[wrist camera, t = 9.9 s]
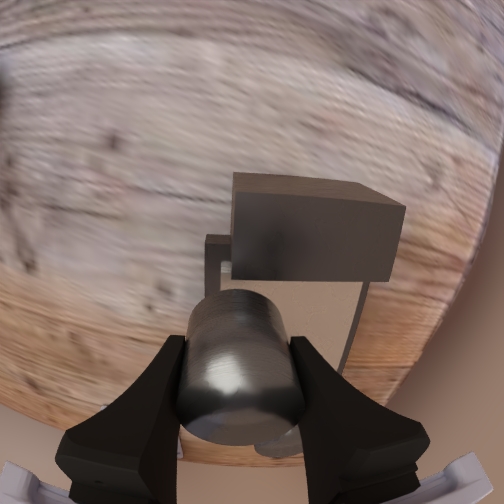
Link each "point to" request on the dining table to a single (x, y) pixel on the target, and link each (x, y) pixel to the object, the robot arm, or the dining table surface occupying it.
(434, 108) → the dining table surface
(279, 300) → the scale
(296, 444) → the cylinder
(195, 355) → the ball
